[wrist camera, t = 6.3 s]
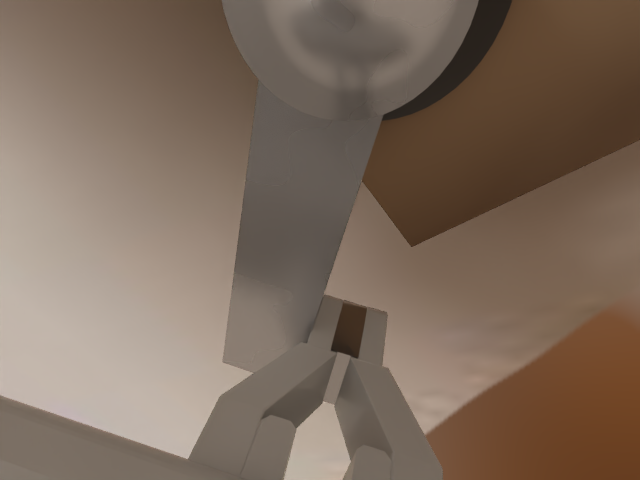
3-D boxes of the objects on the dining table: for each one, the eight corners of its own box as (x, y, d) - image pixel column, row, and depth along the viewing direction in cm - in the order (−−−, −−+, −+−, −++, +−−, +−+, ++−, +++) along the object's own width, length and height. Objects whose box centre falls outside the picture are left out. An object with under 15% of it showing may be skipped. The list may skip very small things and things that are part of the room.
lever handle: (307, -154, 6) (229, -249, 3) (494, -102, 6) (548, -163, 3) (242, 281, 11) (195, 361, 9) (336, 312, 11) (314, 401, 9)
